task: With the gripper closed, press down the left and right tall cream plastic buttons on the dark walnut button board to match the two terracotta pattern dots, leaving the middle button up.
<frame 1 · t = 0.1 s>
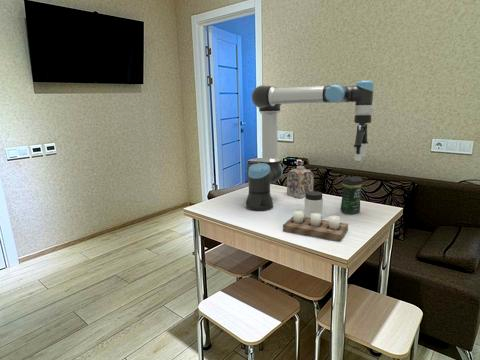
hand: (360, 158, 156), 28 cm above the table, tool pointing down, fingers open, 13 cm apart
decorative jar: (299, 195, 197), on the table
jar: (313, 216, 159), on the table
button left: (298, 217, 143), point 5 cm above the table, slide at 0.0 cm
button board: (315, 230, 140), on the table
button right: (334, 222, 135), point 5 cm above the table, slide at 0.0 cm
coffee jar: (350, 212, 164), on the table
button middle: (315, 219, 139), point 5 cm above the table, slide at 0.0 cm
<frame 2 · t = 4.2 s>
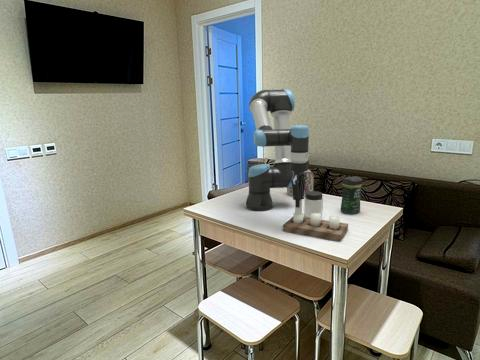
hand: (298, 213, 143), 7 cm above the table, tool pointing down, fingers closed
button left: (298, 219, 143), point 4 cm above the table, slide at 1.0 cm, touching gripper
everything else where it was.
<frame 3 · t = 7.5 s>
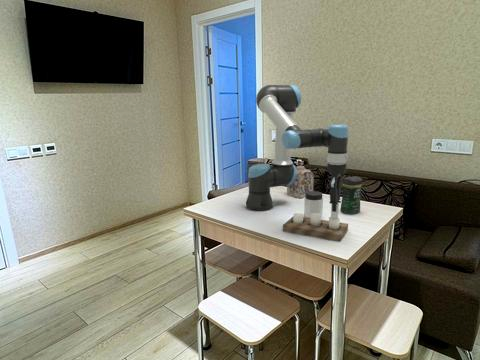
hand: (334, 217, 135), 7 cm above the table, tool pointing down, fingers closed
button left: (298, 220, 144), point 4 cm above the table, slide at 1.6 cm
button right: (334, 223, 136), point 5 cm above the table, slide at 0.6 cm, touching gripper
everything else where it was.
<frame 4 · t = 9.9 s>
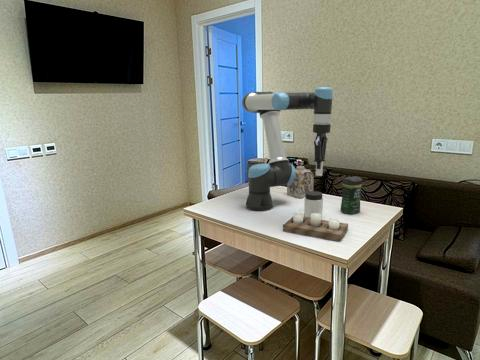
hand: (318, 175, 146), 23 cm above the table, tool pointing down, fingers closed
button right: (333, 226, 136), point 4 cm above the table, slide at 1.6 cm
everything else where it was.
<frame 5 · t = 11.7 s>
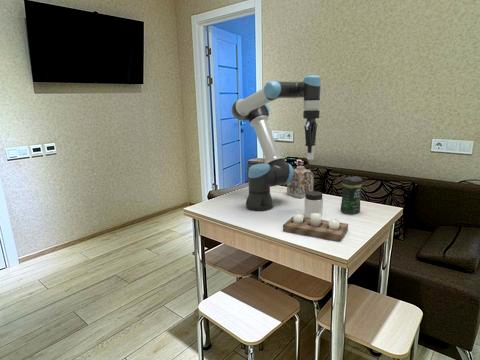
hand: (310, 159, 156), 28 cm above the table, tool pointing down, fingers closed
nothing on the table moved.
at the end: button left slide at 1.6 cm; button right slide at 1.6 cm; button middle slide at 0.0 cm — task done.
